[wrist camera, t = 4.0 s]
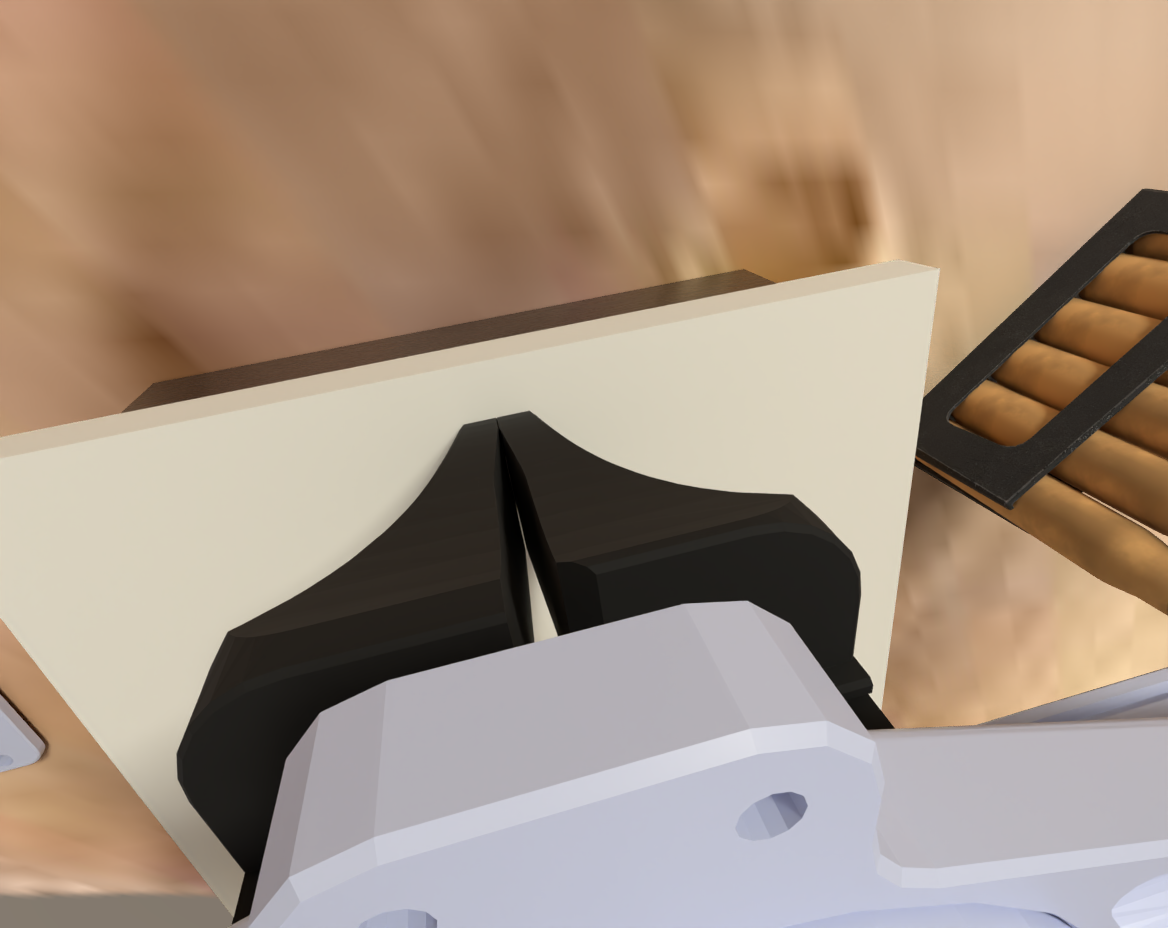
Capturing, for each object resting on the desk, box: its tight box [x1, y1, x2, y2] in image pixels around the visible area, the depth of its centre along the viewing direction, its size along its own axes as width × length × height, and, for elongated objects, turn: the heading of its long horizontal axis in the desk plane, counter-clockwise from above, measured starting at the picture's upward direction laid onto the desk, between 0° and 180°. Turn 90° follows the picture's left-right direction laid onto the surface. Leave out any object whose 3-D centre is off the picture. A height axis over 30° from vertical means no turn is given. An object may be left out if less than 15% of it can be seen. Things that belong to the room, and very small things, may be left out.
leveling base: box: [122, 269, 777, 413], centre depth 18 cm, size 16×14×5 cm
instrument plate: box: [0, 260, 940, 918], centre depth 13 cm, size 18×16×5 cm
